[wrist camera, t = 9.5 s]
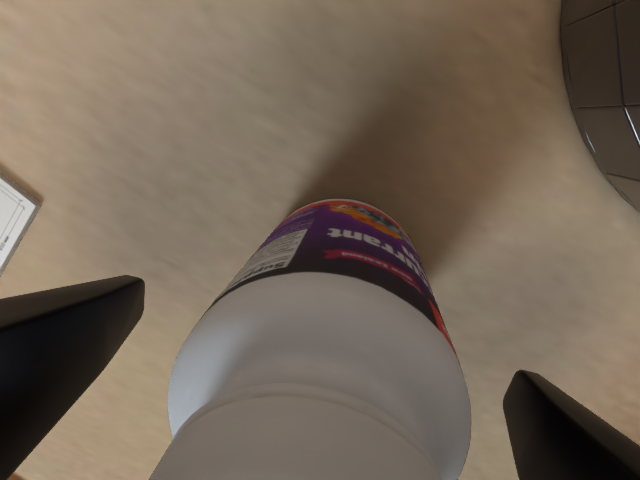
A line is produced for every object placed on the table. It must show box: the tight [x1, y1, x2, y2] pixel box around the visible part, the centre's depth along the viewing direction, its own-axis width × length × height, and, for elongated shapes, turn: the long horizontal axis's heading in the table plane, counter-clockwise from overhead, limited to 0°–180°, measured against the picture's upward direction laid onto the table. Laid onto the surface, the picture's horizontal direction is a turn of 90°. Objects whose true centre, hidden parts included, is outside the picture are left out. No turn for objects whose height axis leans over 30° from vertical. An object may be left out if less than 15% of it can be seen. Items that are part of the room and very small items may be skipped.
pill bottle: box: [149, 199, 471, 480], centre depth 8 cm, size 5×5×10 cm
